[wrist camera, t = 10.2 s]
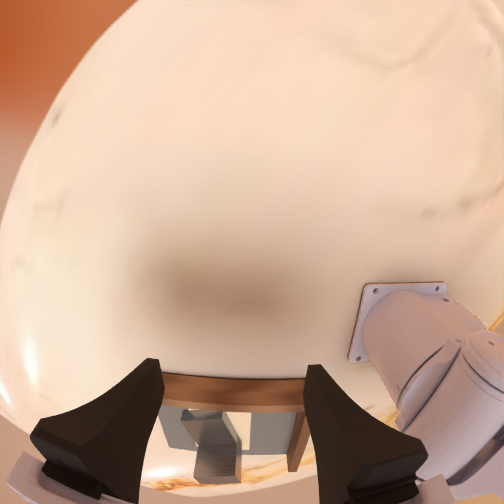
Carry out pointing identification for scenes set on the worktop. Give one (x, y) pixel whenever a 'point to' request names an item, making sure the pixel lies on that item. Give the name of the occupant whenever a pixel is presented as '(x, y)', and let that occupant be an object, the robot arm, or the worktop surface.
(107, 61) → the worktop surface
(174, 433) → the corner mat
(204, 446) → the angle bracket
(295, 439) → the corner walls
